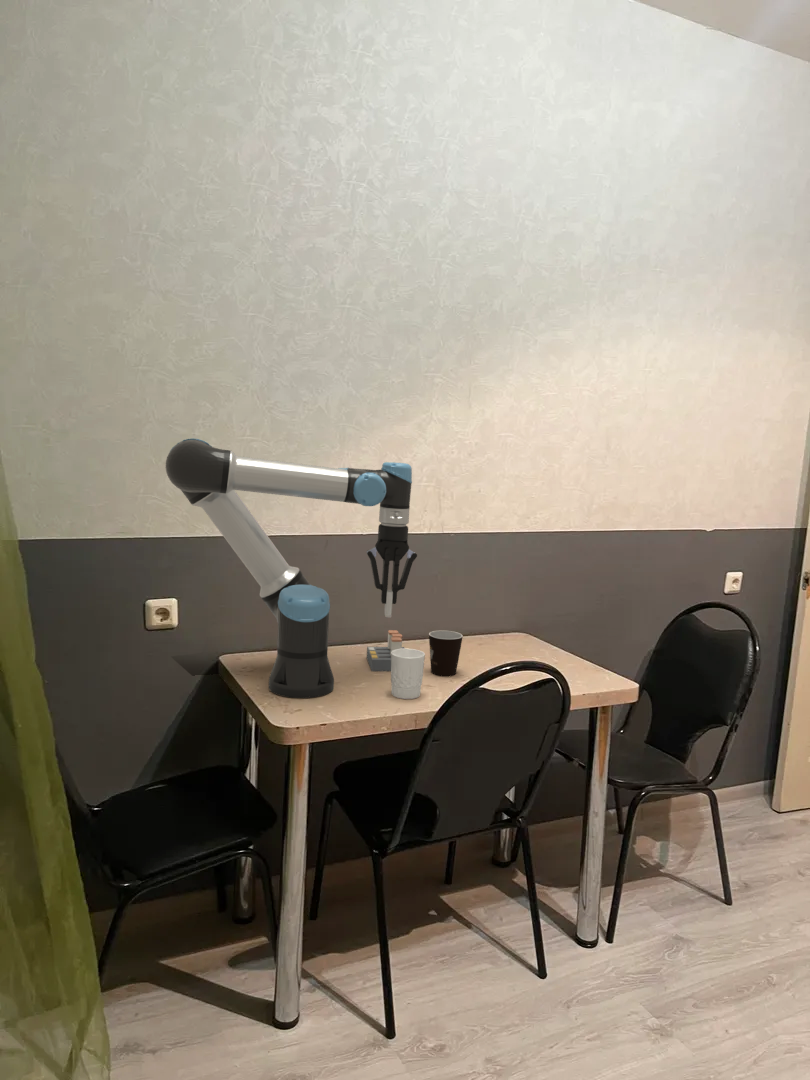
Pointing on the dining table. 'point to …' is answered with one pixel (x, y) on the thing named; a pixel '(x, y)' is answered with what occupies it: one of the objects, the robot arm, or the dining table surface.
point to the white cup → (406, 673)
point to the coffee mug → (444, 652)
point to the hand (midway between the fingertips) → (387, 615)
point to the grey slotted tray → (379, 658)
